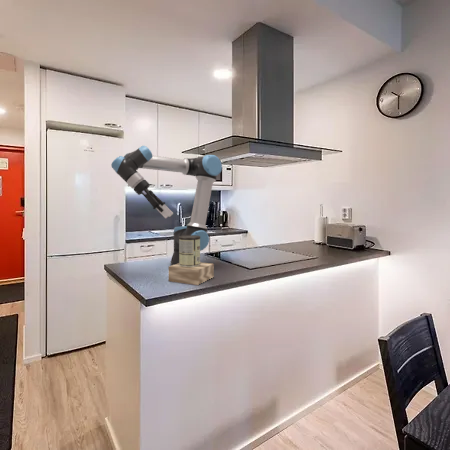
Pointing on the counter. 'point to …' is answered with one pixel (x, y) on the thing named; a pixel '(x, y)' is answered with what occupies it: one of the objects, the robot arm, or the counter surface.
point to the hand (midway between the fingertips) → (169, 215)
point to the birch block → (191, 273)
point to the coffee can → (189, 251)
